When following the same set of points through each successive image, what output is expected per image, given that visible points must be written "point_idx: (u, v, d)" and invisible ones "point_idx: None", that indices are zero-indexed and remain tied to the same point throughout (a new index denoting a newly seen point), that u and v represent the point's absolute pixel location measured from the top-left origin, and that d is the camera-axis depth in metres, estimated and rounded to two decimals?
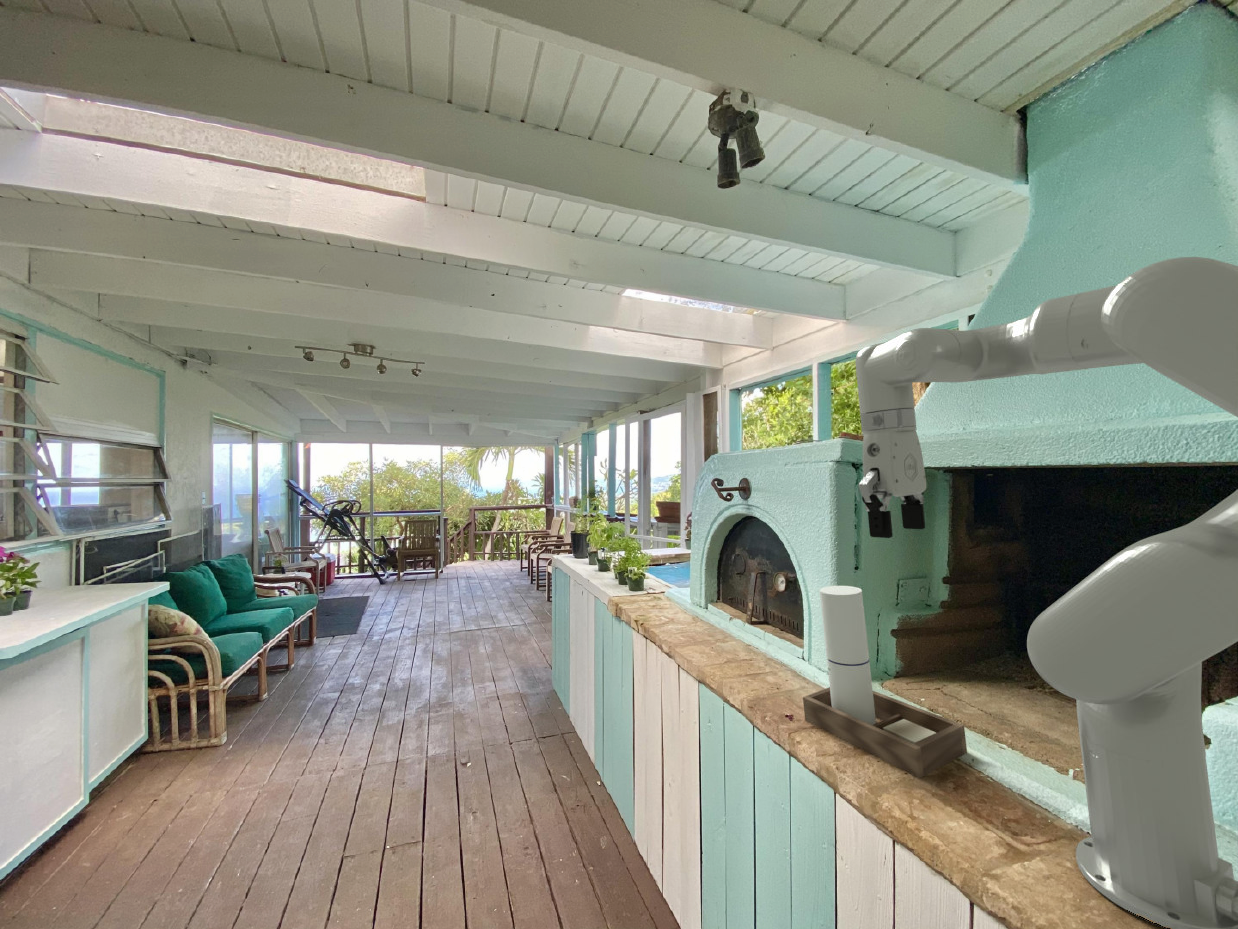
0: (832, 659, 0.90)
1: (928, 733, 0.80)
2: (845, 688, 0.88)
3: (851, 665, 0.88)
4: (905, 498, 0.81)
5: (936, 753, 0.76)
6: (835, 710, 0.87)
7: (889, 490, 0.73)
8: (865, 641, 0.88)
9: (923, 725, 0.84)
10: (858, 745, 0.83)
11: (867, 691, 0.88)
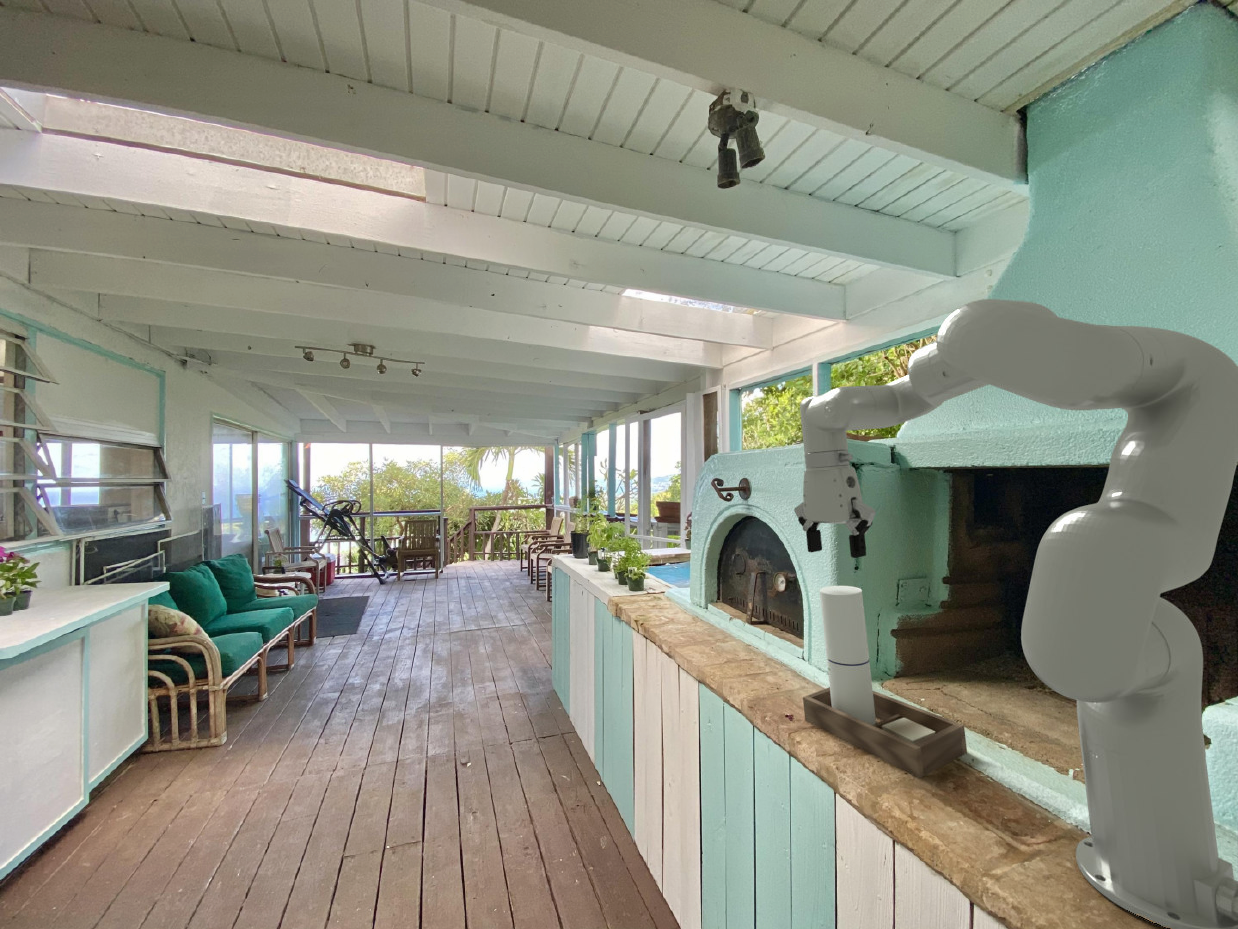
0: (832, 659, 0.90)
1: (927, 732, 0.80)
2: (845, 688, 0.88)
3: (851, 665, 0.88)
4: None
5: (936, 753, 0.76)
6: (835, 710, 0.87)
7: (862, 515, 0.88)
8: (865, 641, 0.88)
9: (923, 725, 0.84)
10: (858, 745, 0.83)
11: (867, 691, 0.88)
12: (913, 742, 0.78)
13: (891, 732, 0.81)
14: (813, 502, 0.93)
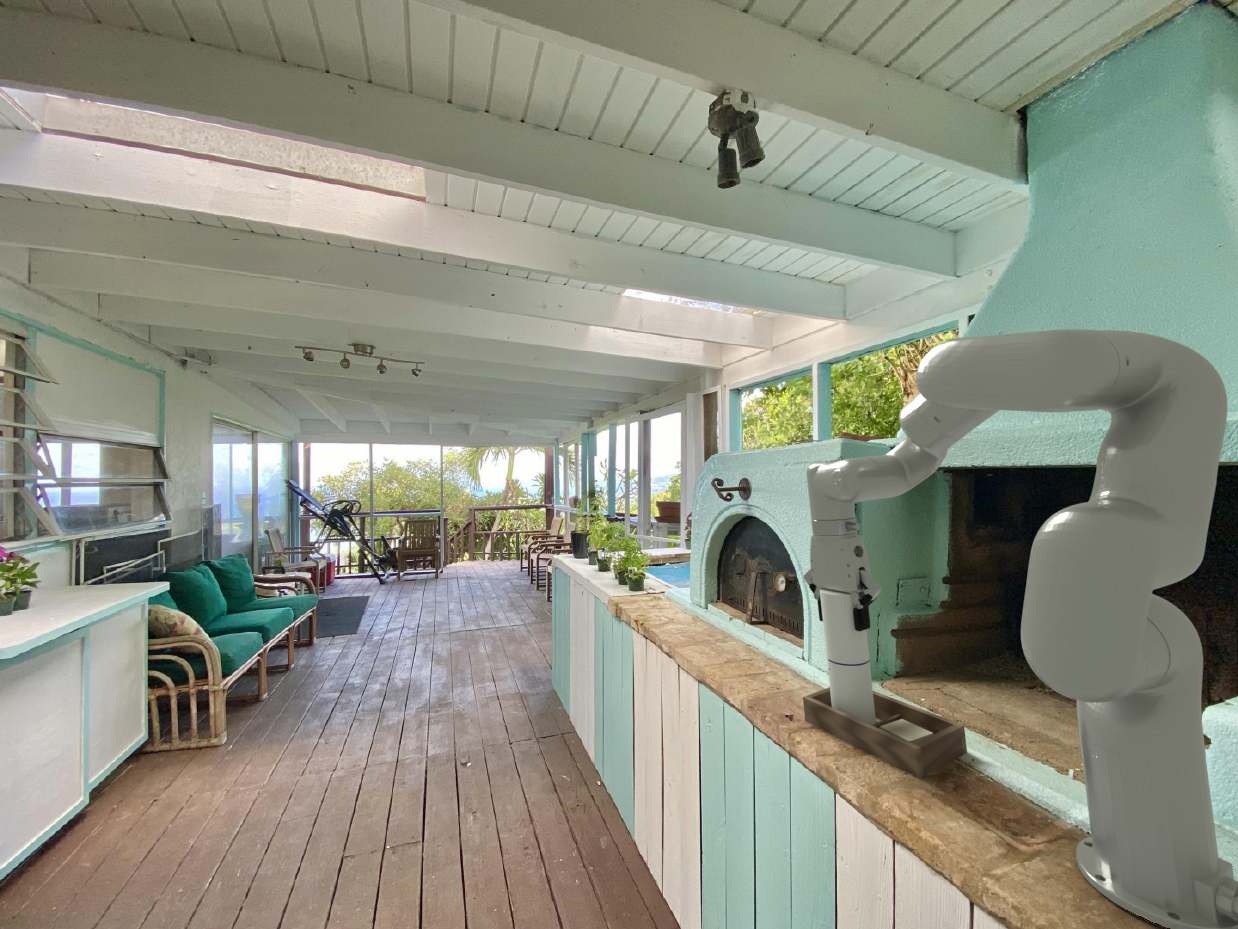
0: (832, 659, 0.90)
1: (925, 733, 0.80)
2: (845, 688, 0.88)
3: (851, 665, 0.88)
4: None
5: (936, 753, 0.76)
6: (835, 710, 0.87)
7: None
8: (865, 641, 0.88)
9: (923, 725, 0.84)
10: (858, 745, 0.83)
11: (867, 691, 0.88)
12: None
13: None
14: (820, 568, 0.92)
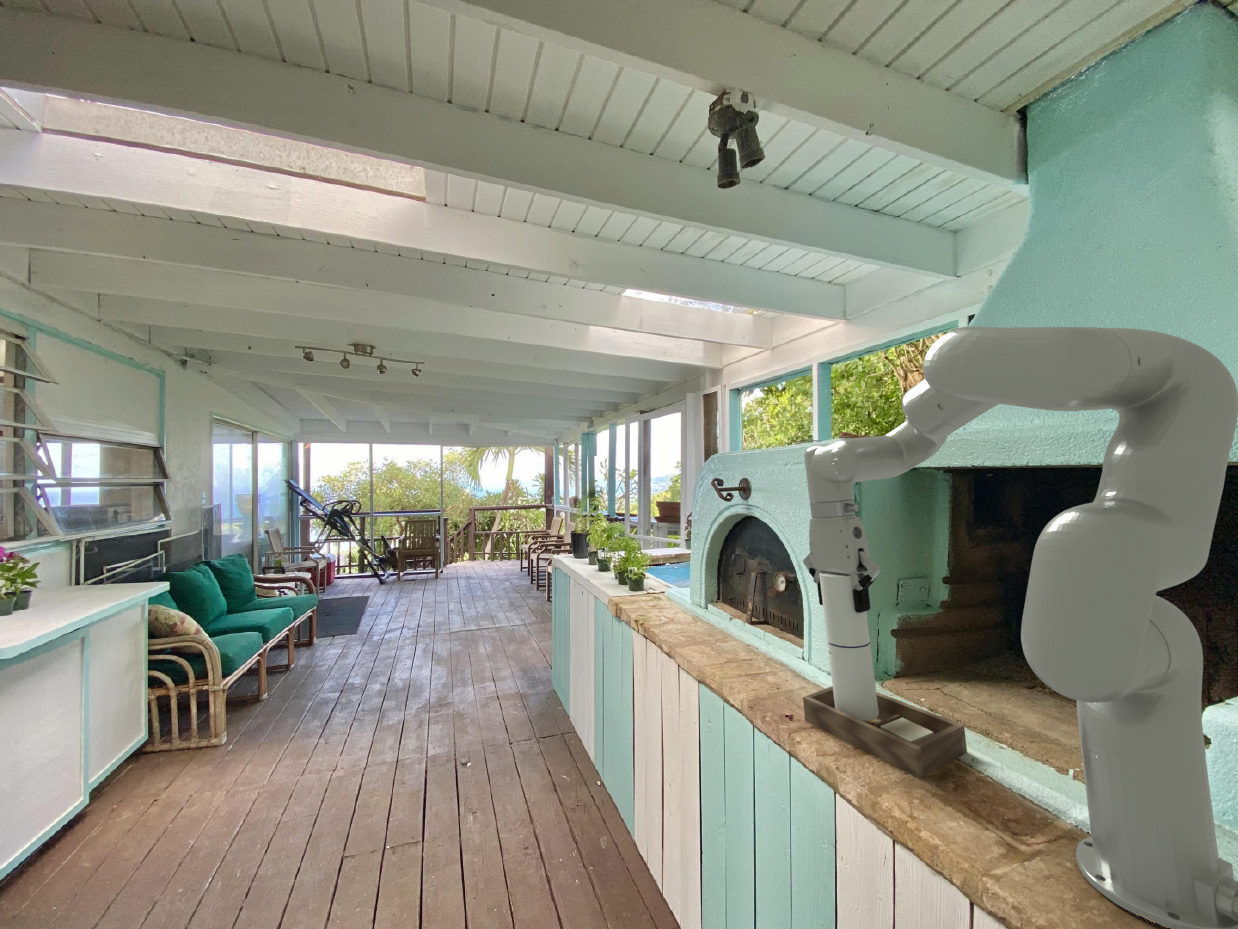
0: (833, 642, 0.89)
1: (925, 732, 0.80)
2: (846, 671, 0.87)
3: (852, 647, 0.87)
4: None
5: (936, 753, 0.76)
6: (835, 710, 0.87)
7: None
8: (865, 623, 0.88)
9: (923, 725, 0.84)
10: (858, 745, 0.83)
11: (869, 673, 0.87)
12: None
13: None
14: (819, 551, 0.92)
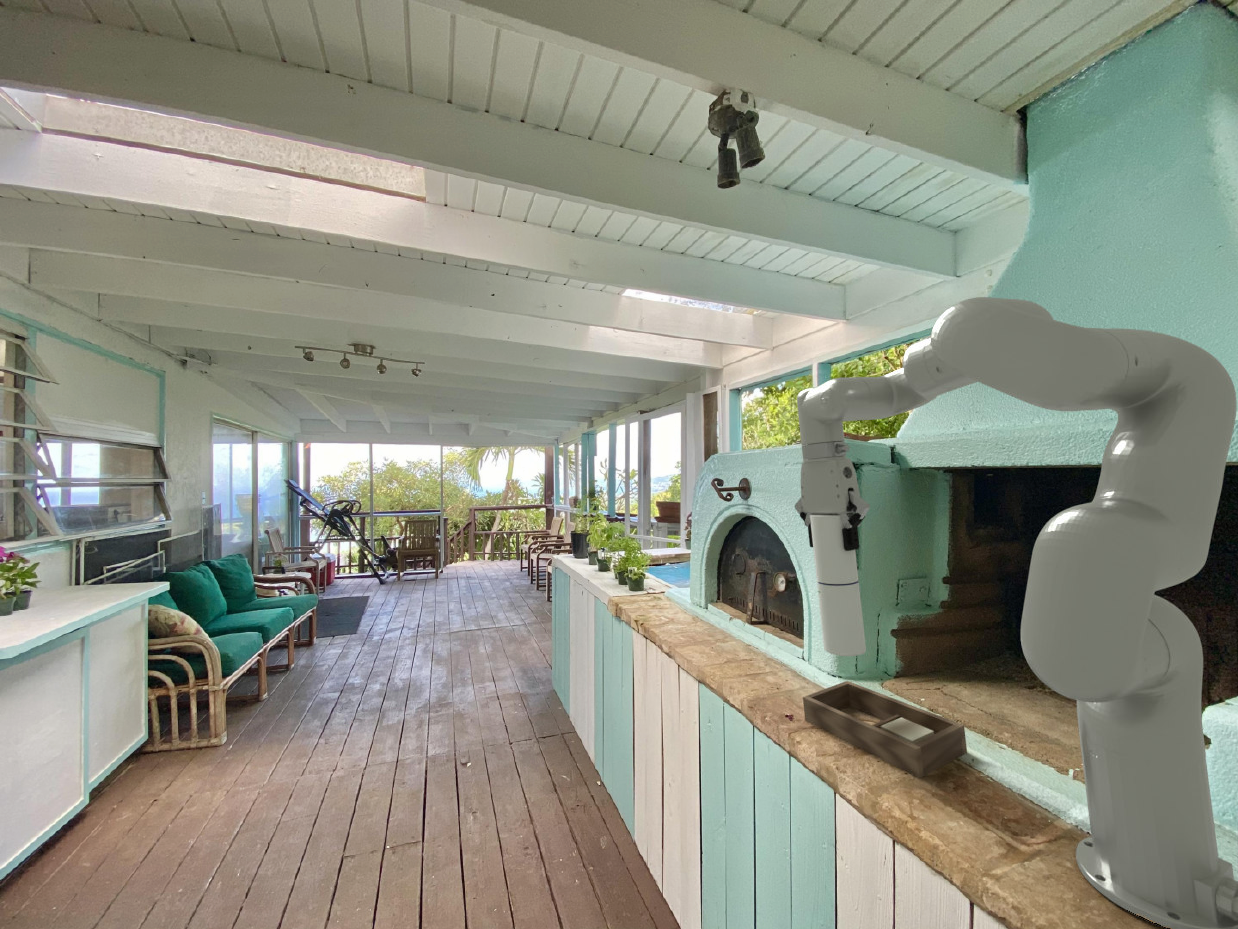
0: (822, 581, 0.91)
1: (926, 731, 0.80)
2: (835, 608, 0.89)
3: (840, 585, 0.89)
4: None
5: (936, 753, 0.76)
6: (835, 710, 0.87)
7: None
8: (854, 562, 0.90)
9: (923, 725, 0.84)
10: (858, 745, 0.83)
11: (857, 610, 0.89)
12: (913, 742, 0.78)
13: (890, 732, 0.81)
14: (810, 493, 0.93)
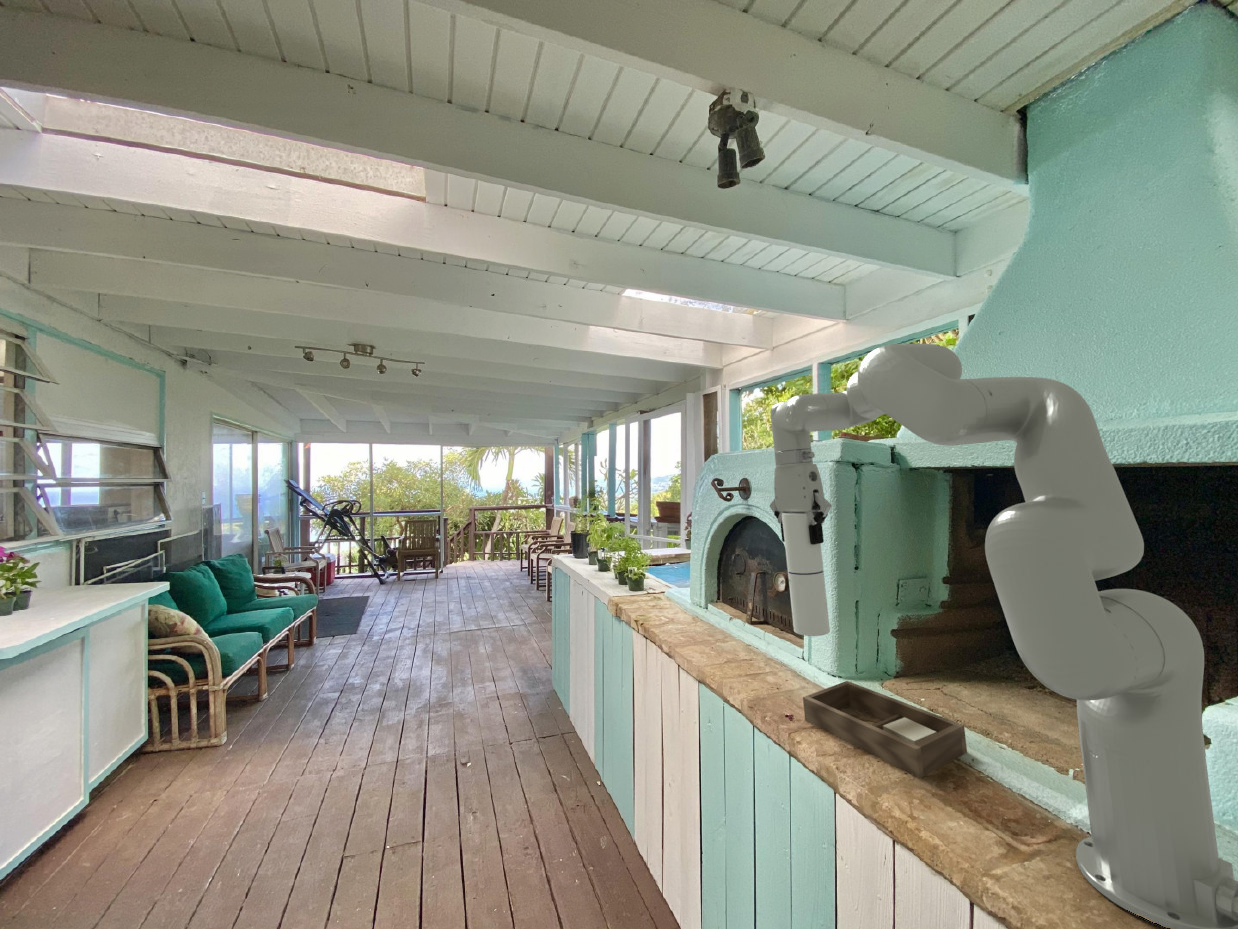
0: (791, 571, 1.04)
1: (928, 732, 0.80)
2: (802, 594, 1.02)
3: (807, 574, 1.02)
4: None
5: (936, 753, 0.76)
6: (835, 710, 0.87)
7: None
8: (819, 554, 1.03)
9: (923, 725, 0.84)
10: (858, 745, 0.83)
11: (821, 596, 1.02)
12: (914, 742, 0.78)
13: (892, 732, 0.81)
14: (782, 494, 1.06)
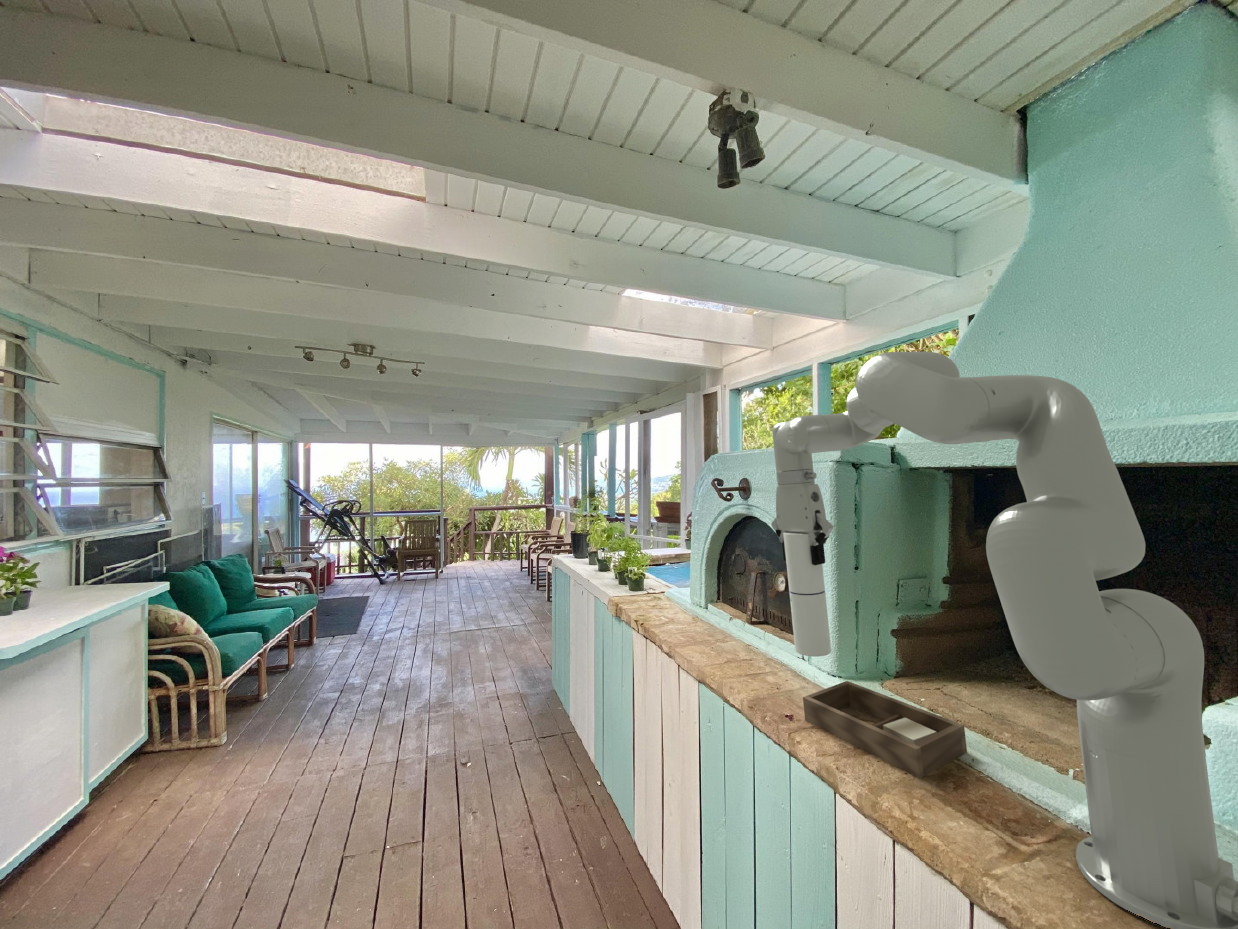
0: (793, 591, 1.04)
1: (928, 731, 0.80)
2: (804, 614, 1.02)
3: (808, 594, 1.02)
4: None
5: (936, 753, 0.76)
6: (835, 710, 0.87)
7: None
8: (821, 574, 1.03)
9: (923, 725, 0.84)
10: (858, 745, 0.83)
11: (822, 617, 1.02)
12: (914, 741, 0.78)
13: (892, 731, 0.81)
14: (784, 514, 1.06)
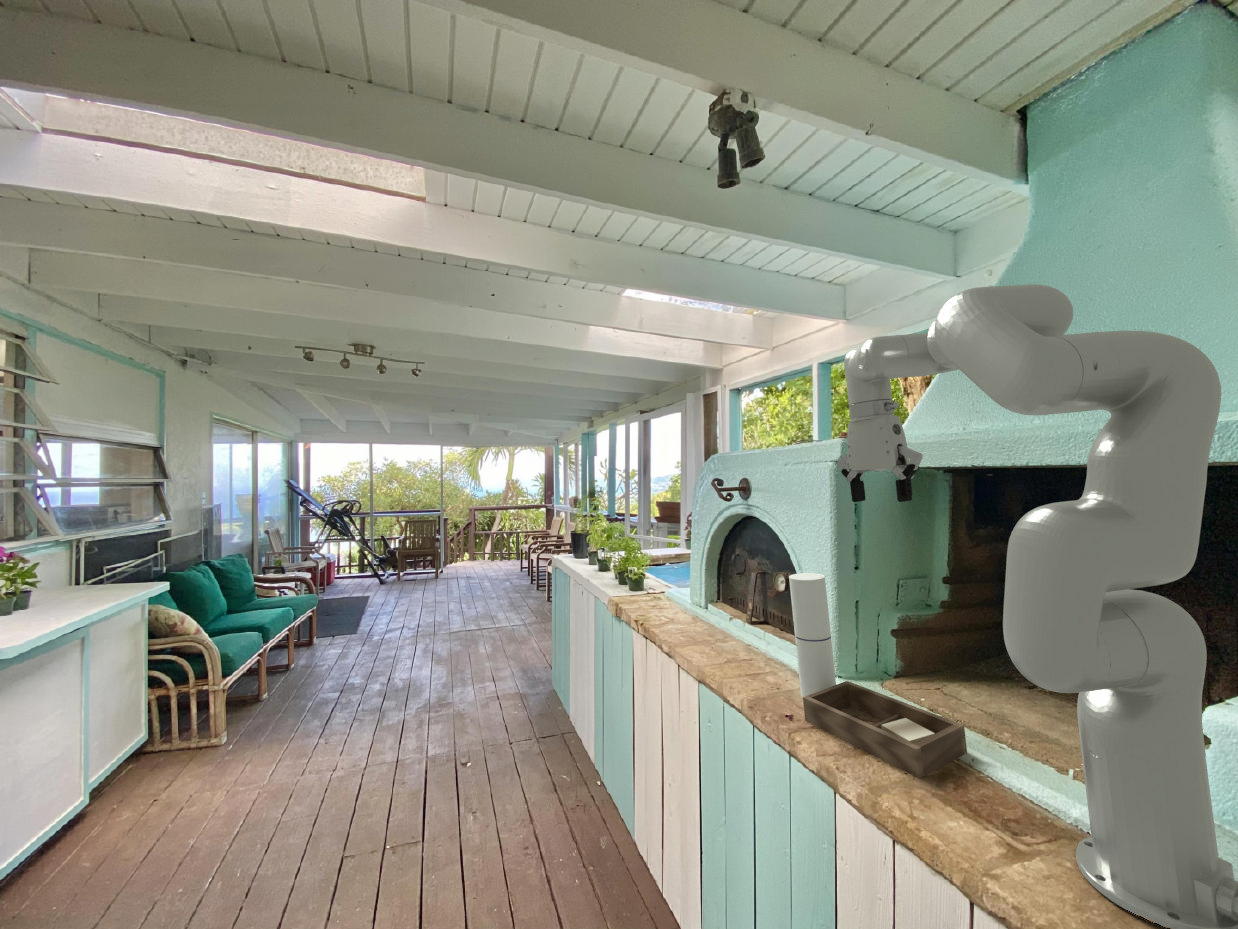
0: (799, 636, 1.03)
1: (926, 733, 0.80)
2: (810, 661, 1.02)
3: (815, 641, 1.01)
4: None
5: (936, 753, 0.76)
6: (835, 710, 0.87)
7: (908, 462, 0.91)
8: (827, 620, 1.02)
9: (923, 725, 0.84)
10: (858, 745, 0.83)
11: (829, 663, 1.01)
12: None
13: (889, 731, 0.82)
14: (858, 452, 0.96)
